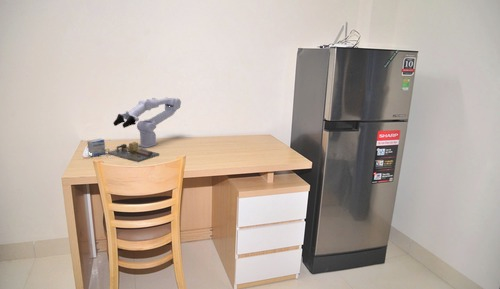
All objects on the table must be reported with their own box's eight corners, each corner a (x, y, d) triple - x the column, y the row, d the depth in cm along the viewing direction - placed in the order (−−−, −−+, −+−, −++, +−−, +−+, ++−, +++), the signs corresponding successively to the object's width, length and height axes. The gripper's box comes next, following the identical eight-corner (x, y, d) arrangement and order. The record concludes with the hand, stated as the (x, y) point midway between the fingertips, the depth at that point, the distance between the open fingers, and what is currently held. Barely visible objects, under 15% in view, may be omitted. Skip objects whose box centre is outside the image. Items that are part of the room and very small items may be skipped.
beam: (124, 148, 198) (124, 144, 197) (152, 155, 187) (152, 150, 186) (116, 150, 193) (115, 146, 192) (144, 158, 182) (144, 153, 181)
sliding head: (134, 150, 195) (134, 142, 193) (138, 150, 193) (137, 142, 192) (125, 152, 189) (124, 144, 187) (129, 153, 187) (128, 145, 186)
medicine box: (93, 157, 183) (91, 142, 181) (88, 155, 185) (87, 140, 183) (105, 153, 190) (104, 139, 187) (100, 152, 192) (99, 138, 190)
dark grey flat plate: (129, 147, 203) (129, 145, 203) (159, 155, 192) (159, 153, 191) (107, 153, 190) (107, 152, 189) (138, 162, 178) (138, 160, 178)
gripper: (124, 105, 197) (107, 117, 188) (141, 108, 191) (124, 121, 182) (128, 115, 202) (112, 127, 193) (145, 118, 195) (129, 131, 186)
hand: (118, 125), depth 187 cm, fingers open, 7 cm apart
